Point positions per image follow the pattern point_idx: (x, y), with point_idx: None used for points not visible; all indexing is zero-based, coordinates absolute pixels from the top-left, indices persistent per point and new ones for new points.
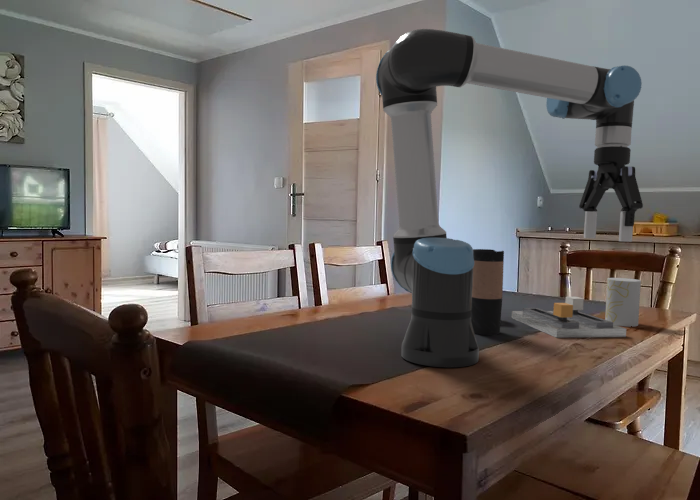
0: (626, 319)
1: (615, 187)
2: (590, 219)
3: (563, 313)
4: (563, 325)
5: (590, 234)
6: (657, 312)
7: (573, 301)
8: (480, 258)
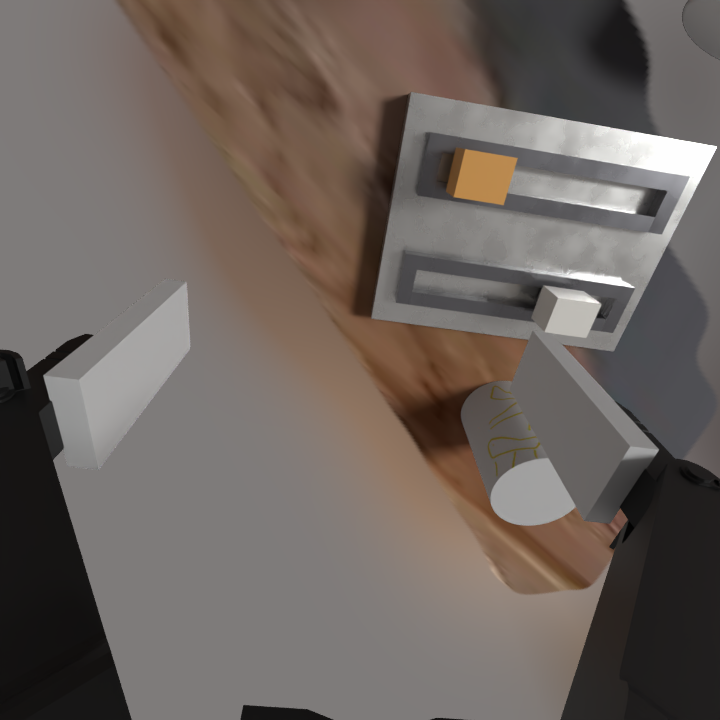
0: (471, 407)
1: (32, 671)
2: (576, 428)
3: (456, 157)
4: (428, 137)
5: (529, 372)
6: (555, 556)
7: (553, 296)
8: None
